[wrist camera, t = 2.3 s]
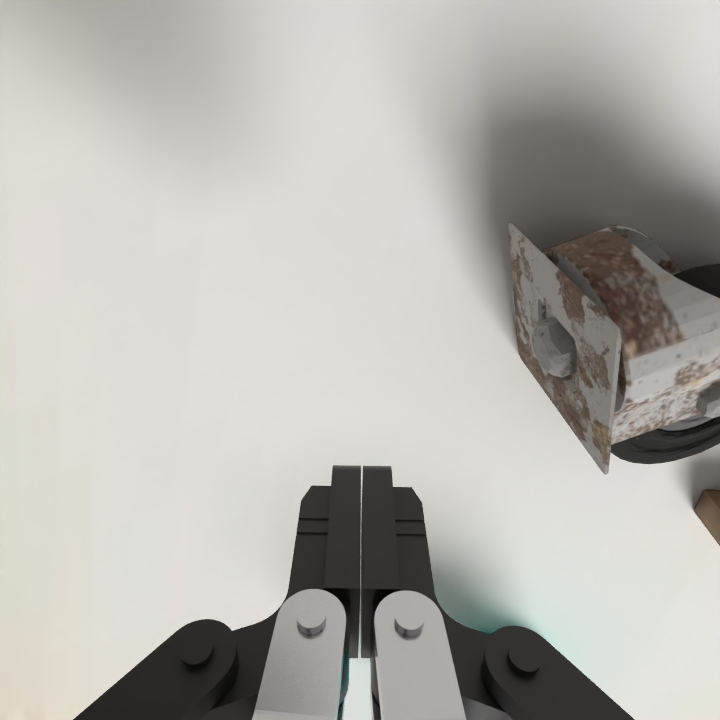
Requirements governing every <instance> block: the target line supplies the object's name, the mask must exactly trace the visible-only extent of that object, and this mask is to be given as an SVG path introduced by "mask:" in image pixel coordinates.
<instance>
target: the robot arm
mask: <svg viewBox="0 0 720 720" xmlns="http://www.w3.org/2000/svg"><path fill="white" fill-rule="evenodd" d="M360 525H361V658H371V687H370V703H371V716H372V720H634V719H633V718H632V717H631V716H630V715H629V714H628V713H627V712H625V711H624V710H623V709H622V708H621V707H620V706H619V705H618V704H616V703H615V702H614V701H613V700H612V699H611V698H610V697H609V696H608V695H606V694H605V693H604V692H603V691H602V690H601V689H600V688H599V687H598V686H596V685H595V684H594V683H593V682H592V681H591V680H590V679H589V678H588V677H586V676H585V675H584V674H583V673H582V672H581V671H580V670H579V669H578V668H576V667H575V666H574V665H573V664H572V663H571V662H570V661H569V660H567V659H566V658H565V657H564V656H563V655H562V654H561V653H560V652H559V651H557V650H556V649H555V648H554V647H553V646H552V645H551V644H550V643H549V642H547V641H546V640H545V639H544V638H543V637H541V636H540V635H539V634H537V633H535V632H534V631H532V630H529V629H527V628H524V627H519V626H507V627H503V628H500V629H498V630H497V631H495V632H494V633H493V634H492V635H488V634H486V633H483V632H480V631H477V630H474V629H471V628H468V627H466V626H463V625H461V624H459V623H457V622H456V621H454V620H453V619H452V618H450V617H449V616H448V615H447V614H446V613H445V612H444V611H443V609H442V608H441V607H440V605H439V603H438V601H437V599H436V596H435V592H434V586H433V579H432V572H431V564H430V557H429V550H428V543H427V538H426V529H425V523H424V514H423V507H422V502H421V501H420V499H419V498H418V496H417V495H416V493H415V492H414V490H413V489H412V487H393V484H392V470H391V466H363V485H362V522H361V466H336V465H333V470H332V483H331V486H311V487H310V489H309V490H308V492H307V493H306V495H305V496H304V497H303V499H302V500H301V506H300V513H299V521H298V527H297V536H296V541H295V548H294V555H293V562H292V568H291V575H290V582H289V589H288V593H287V596H286V598H285V600H284V602H283V604H282V605H281V606H280V608H279V609H278V610H277V611H276V612H275V613H274V614H273V615H271V616H270V617H268V618H267V619H265V620H263V621H261V622H259V623H256V624H253V625H250V626H247V627H244V628H240V629H237V630H234V631H231V630H230V628H229V627H228V626H226V625H225V624H224V623H222V622H220V621H216V620H211V619H204V620H198V621H194V622H192V623H189V624H187V625H185V626H183V627H182V628H180V629H179V630H178V631H176V632H175V633H174V634H173V635H172V636H171V637H169V638H168V639H167V640H166V641H165V642H164V643H162V644H161V645H160V646H159V647H158V648H157V649H155V650H154V651H153V652H152V653H151V654H149V655H148V656H147V657H146V658H145V659H144V660H142V661H141V662H140V663H139V664H138V665H137V666H135V667H134V668H133V669H132V670H131V671H130V672H128V673H127V674H126V675H125V676H124V677H123V678H121V679H120V680H119V681H118V682H117V683H116V684H114V685H113V686H112V687H111V688H110V689H108V690H107V691H106V692H105V693H104V694H103V695H101V696H100V697H99V698H98V699H97V700H96V701H94V702H93V703H92V704H91V705H90V706H89V707H87V708H86V709H85V710H84V711H83V712H82V713H80V714H79V715H78V716H77V717H76V718H75V719H73V720H343V716H344V706H345V696H346V694H347V690H348V684H349V658H358V642H359V611H360Z"/></svg>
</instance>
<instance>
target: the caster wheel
mask: <svg viewBox="0 0 720 720" xmlns="http://www.w3.org/2000/svg"><path fill="white" fill-rule="evenodd" d="M508 230H509V242H510V254H511V266H512V278H513V290H514V302H515V314H516V326H517V338H518V350H519V354H520V357H521V359H522V361H523V362H524V364H525V365H526V366H527V368H528V369H529V371H530V372H531V373H532V375H533V376H534V377H535V379H536V380H537V382H538V383H539V384H540V386H541V387H542V389H543V390H544V391H545V393H546V394H547V396H548V397H549V398H550V400H551V401H552V403H553V404H554V405H555V407H556V408H557V410H558V411H559V412H560V414H561V415H562V416H563V418H564V419H565V421H566V422H567V423H568V425H569V426H570V428H571V429H572V430H573V432H574V433H575V435H576V436H577V437H578V439H579V440H580V442H581V443H582V444H583V446H584V447H585V449H586V450H587V451H588V453H589V454H590V455H591V457H592V458H593V460H594V461H595V462H596V464H597V465H598V467H599V468H600V469H601V471H602V472H603V473H604V474H607V473H608V470H609V460H610V452H611V453H612V454H614V455H615V456H617V457H619V458H620V459H622V460H626V461H629V462H632V463H641V464H656V463H664V462H670V461H675V460H678V459H682V458H685V457H688V456H692V455H695V454H698V453H701V452H703V451H705V450H707V449H709V448H711V447H713V446H715V445H717V444H719V443H720V264H715V265H708V266H701V267H696V268H692V269H689V270H686V271H683V272H681V270H680V269H679V268H678V266H677V265H676V264H675V263H674V261H672V259H671V258H670V257H669V255H668V254H667V253H666V252H665V251H664V250H663V249H662V248H661V247H659V246H658V245H657V244H656V243H655V242H654V241H652V240H651V239H650V238H649V237H647V236H646V235H644V234H643V233H641V232H639V231H637V230H635V229H632V228H629V227H625V226H617V225H616V226H610V227H607V228H604V229H601V230H599V231H596V232H593V233H590V234H588V235H585V236H582V237H579V238H577V239H574V240H571V241H568V242H565V243H563V244H560V245H557V246H554V247H552V248H549V249H546V250H544V251H542V252H541V251H540V250H539V249H538V248H537V247H536V246H535V245H534V244H533V243H532V242H531V241H530V240H529V239H528V238H527V237H526V236H525V235H524V234H523V233H522V232H520V231H519V230H518V229H517V228H516V227H515V226H514V225H513V224H512V223H508Z"/></svg>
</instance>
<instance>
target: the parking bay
mask: <svg viewBox="0 0 720 720" xmlns="http://www.w3.org/2000/svg"><path fill="white" fill-rule="evenodd" d="M694 512H695V513H696V515H697V516H698V517H699V519H700V520H701V521H702V523H703V524H704V525H705V527H706V528H707V529H708V531H709V532H710V533H711V535H712V536H713V537H714V539H715V540H716V541H717V543H718V544H719V545H720V490H704V492H703V494H702V496H701V498H700V500H699V502H698V504H697V506H696V508H695V510H694Z"/></svg>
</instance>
